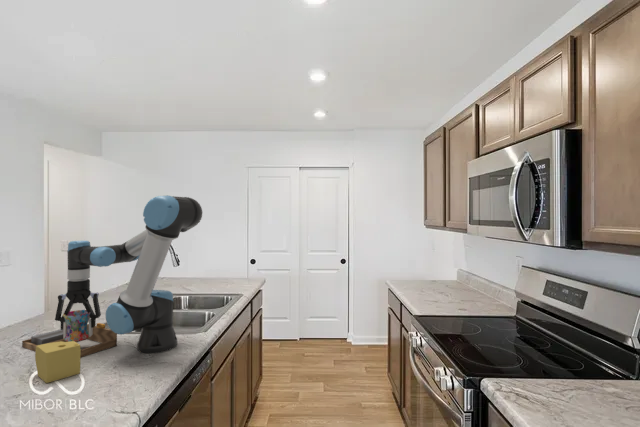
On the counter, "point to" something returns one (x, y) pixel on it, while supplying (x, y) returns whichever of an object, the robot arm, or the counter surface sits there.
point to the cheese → (57, 360)
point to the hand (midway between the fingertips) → (78, 336)
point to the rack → (99, 335)
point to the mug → (77, 325)
